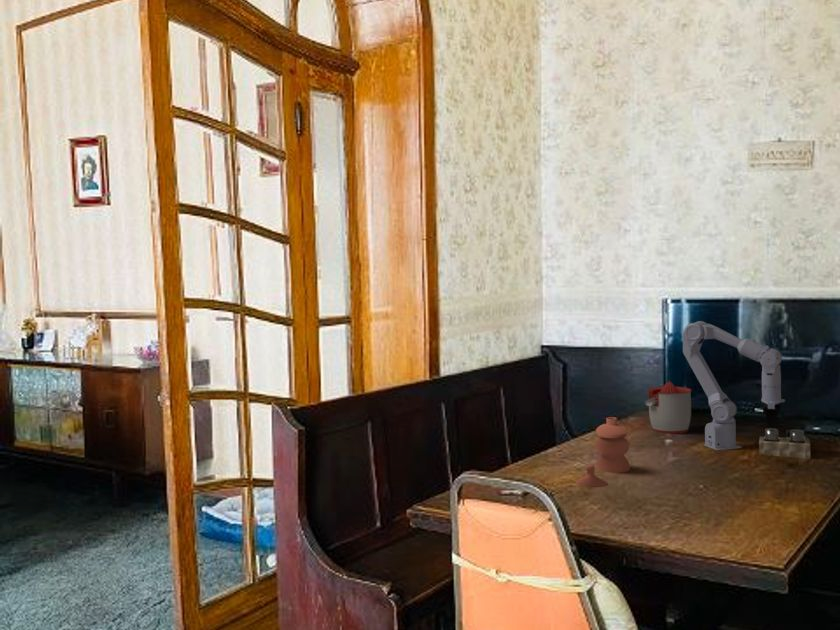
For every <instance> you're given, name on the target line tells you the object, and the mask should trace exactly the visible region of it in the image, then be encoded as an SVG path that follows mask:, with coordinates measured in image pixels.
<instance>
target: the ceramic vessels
mask: <svg viewBox="0 0 840 630" xmlns="http://www.w3.org/2000/svg"><path fill="white" fill-rule="evenodd" d="M605 419H606V423H603V424H601V425H599V426H598V427H597V428H596V431H595V433H596V435H597V436H598V438H597V439H596V441H595V443H594V444H595V445H594V446H595V449H596V451H597V452H598V453H599V454H600V456H599V457H598V458H597V459H596V463H595V465H594V464H590V463H589V464H586V475H585V476H583V477H581V478H579V479H577V480H576V481H575V483H576V485H579V486H582V487H588V488H602V487H607V486H608V485H609V483H608V482H607V481H605V480H604V479H602V478H600V477H598V476H596V475H595V470H598V471H601V472H605V473H613V474H614V473H617V474H618V473H620V474H621V473H627V472H629V471H630V469H631V467H630V462H629V460H628V459H627V457H626V455H625V454H627V453H628V451H629V450H630V443H629V441H628V439H627V438H626V436H627V435H628V433H629V432H628V428H626V427H625V426H624V425H623V424H620V423H618V418H617V417H613V416H609V417H606V418H605ZM595 468H596V469H595Z"/></svg>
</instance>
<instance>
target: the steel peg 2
mask: <svg viewBox="0 0 840 630" xmlns="http://www.w3.org/2000/svg"><path fill="white" fill-rule="evenodd" d="M789 430H790V443H804V436H805V435H804V434H805V431H804V430H802V429H789Z"/></svg>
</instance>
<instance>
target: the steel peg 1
mask: <svg viewBox="0 0 840 630" xmlns="http://www.w3.org/2000/svg"><path fill="white" fill-rule="evenodd" d="M764 437H765V441H771V442H778V437H779V429H778V428H768V427H767V428H765V429H764Z"/></svg>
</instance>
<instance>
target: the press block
mask: <svg viewBox="0 0 840 630" xmlns="http://www.w3.org/2000/svg"><path fill="white" fill-rule="evenodd" d="M810 440H811V439H809V438H808V439H804V443H790V438H786V437H779V436H778V442H771V441H765V436H759V441H758V450H759V451H758V455H761V454H764V455H763V456H771V455H773V456H772V457H774V456H775V457H783V458H785V457H786V458H794V459H795V458H796V459H805V460H806V459H807V460H810V459H811V442H810Z"/></svg>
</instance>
